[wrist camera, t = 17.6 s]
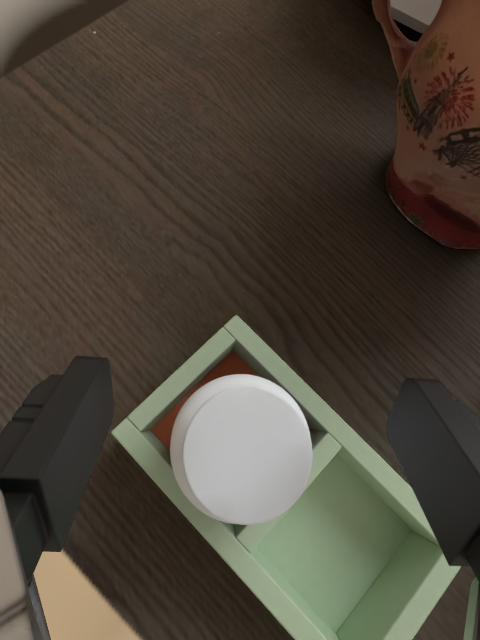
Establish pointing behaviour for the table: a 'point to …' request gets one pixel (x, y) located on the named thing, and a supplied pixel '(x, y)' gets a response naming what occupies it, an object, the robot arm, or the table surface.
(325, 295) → the table surface
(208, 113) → the table surface
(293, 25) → the table surface
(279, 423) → the pill bottle
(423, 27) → the white vase
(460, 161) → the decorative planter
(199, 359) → the storage box
